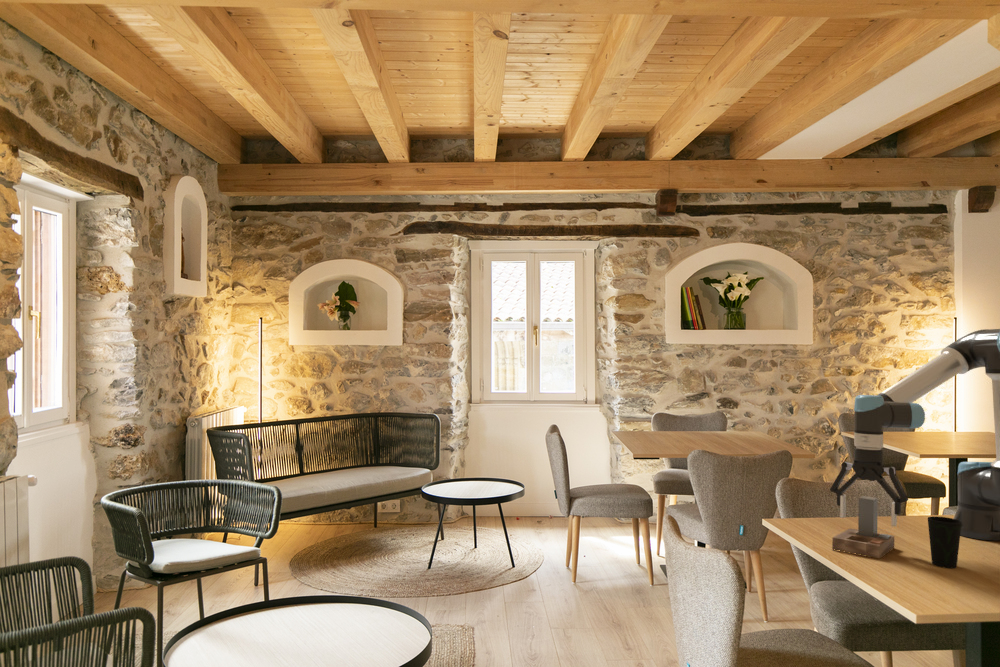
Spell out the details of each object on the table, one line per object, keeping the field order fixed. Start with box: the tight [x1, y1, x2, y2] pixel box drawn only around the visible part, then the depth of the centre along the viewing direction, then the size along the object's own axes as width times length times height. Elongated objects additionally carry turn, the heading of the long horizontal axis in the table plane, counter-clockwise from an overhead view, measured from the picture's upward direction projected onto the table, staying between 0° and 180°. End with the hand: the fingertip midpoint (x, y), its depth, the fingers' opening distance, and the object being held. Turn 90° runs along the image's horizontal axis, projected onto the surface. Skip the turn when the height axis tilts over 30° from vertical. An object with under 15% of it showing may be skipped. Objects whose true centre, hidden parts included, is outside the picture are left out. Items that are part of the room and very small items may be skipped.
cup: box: [927, 516, 962, 569], centre depth 187 cm, size 8×8×12 cm
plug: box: [857, 495, 879, 538], centre depth 204 cm, size 4×4×14 cm
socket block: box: [831, 527, 895, 559], centre depth 201 cm, size 12×16×4 cm
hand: (867, 521), depth 204 cm, fingers open, 13 cm apart
